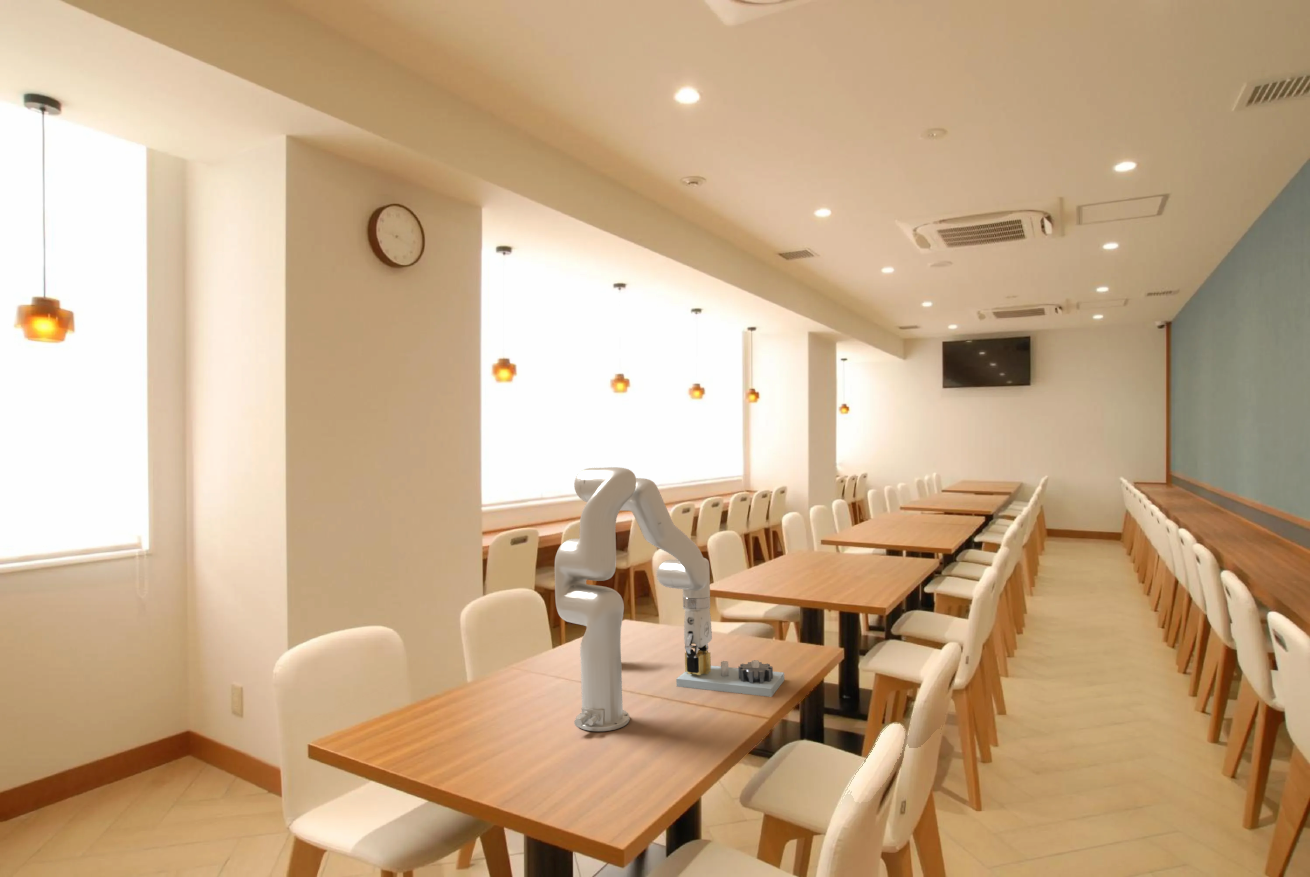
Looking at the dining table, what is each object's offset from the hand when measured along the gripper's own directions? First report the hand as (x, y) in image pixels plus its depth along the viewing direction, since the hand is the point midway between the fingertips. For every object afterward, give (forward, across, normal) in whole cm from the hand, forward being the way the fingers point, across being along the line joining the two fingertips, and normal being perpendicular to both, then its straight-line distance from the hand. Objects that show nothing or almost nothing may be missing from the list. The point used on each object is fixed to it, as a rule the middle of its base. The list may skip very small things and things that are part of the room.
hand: (697, 667), depth 194 cm
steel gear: (+1, 0, -16) cm, 16 cm away
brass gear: (+1, 0, 0) cm, 1 cm away
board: (+3, +1, -9) cm, 10 cm away
